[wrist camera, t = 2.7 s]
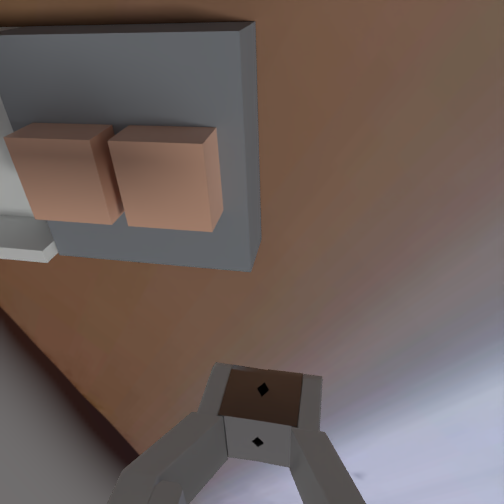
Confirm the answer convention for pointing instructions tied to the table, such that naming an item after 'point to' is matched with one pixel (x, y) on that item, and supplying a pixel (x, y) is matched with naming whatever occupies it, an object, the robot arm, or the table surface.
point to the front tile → (168, 176)
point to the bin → (19, 209)
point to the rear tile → (67, 171)
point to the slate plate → (148, 120)
